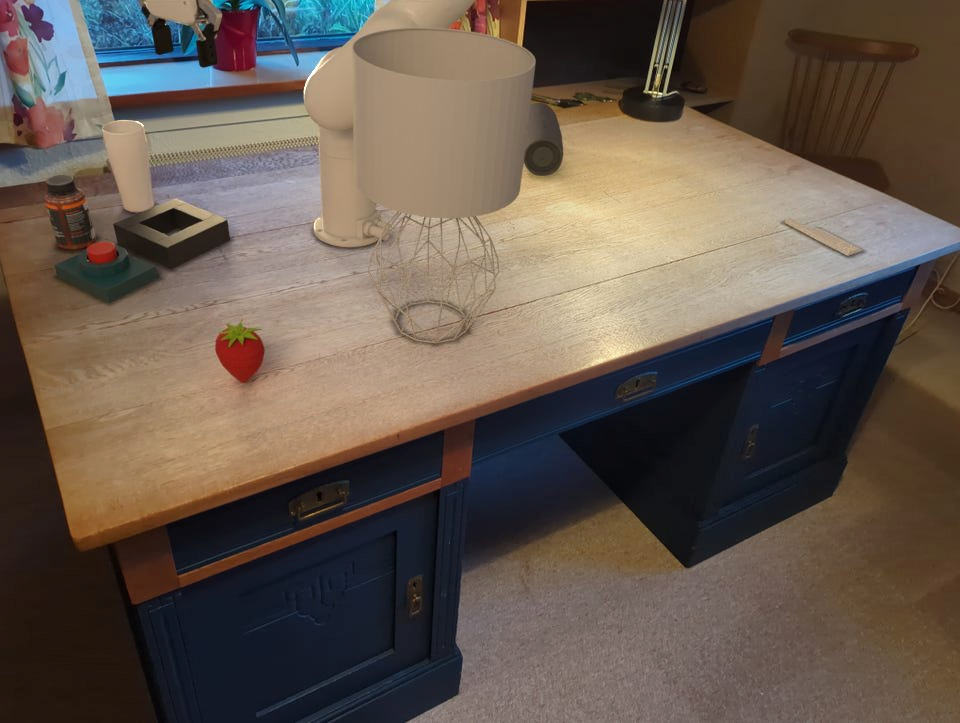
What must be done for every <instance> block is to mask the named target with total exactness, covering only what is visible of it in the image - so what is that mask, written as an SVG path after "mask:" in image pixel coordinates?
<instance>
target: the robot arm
mask: <svg viewBox="0 0 960 723" xmlns="http://www.w3.org/2000/svg"><path fill="white" fill-rule="evenodd" d="M137 2H138V4H139V7H140V8H141V9H140V10H141V13H142V14H143V16H144V17H145V18H146V24H147V26H148V27H149V28H150V30H151V36H152V42H153V47H154V52H155V54H156V55H158V56H162V55H165V54H169V53H173V52H174V51H175V48H174V43H173V36H172V31H171V26H170V24H167V22H173V23H177V24H180V25H185V26H190V28H191V29H192V31H193V33H194V34H195V35H196V37H197V39H196V40H195V46H196V51H197V59H198V66H199V67H200V68H203V69H204V68H208V67H212V66H216V65H217V64H218V61H219V60H218V55H217V47H216V39H217V38H218V34H219V31H220V30H221V23H222V18H223V12H222V11H221V10H220V9H219V8H218V7H217V6H216V5H214V4H213V0H137ZM475 2H476V0H388V1H387V2H386V3H385V4H384V5H382V6H381V7H379V8H378V9H376V10H375V11H374V12H372V13H371V14H370V15H369V17H368V18H367V20H365V22H364V24H363V26H362V27H361V28H360V29H359V31H357V32H356V33H355V34H354V35H353V36H352V37H351V38H350V39H349V40H348V41H347V42H345V44H344V45H342V46H338V47H335V48H334V49H332V50H330V51H328V52H327V53H325V55H323V56H322V57H321V59H320V61H319V62H318V63H317V65H316V66H315V67H314V69H313V71H312V72H311V74H310V75H309V77H308V78H307V80H306V82H305V86H304V89H303V103H304V107H305V111H306V113H307V115H308V116H309V117H310V119H311V120H312V121H313V122H314V123H315V124H316V125H317V138H318V140H317V141H318V164H319V182H320V183H319V184H320V185H319V186H320V202H321V203H320V204H321V216H320V217H318V218H317V219H315V221H314V223H313V233H314V235H315V236H316V238H317V239H318V240H320V241H321V242H323V243H325V244H328V245H331V246H335V247H339V248H360V247H366V246H369V245H372V244H374V243H377V242H378V240H379V238H380V236H381V234H382V232H383V230H384V228H385V226H386V224H387V223H388V222H386V221H383V220H382V211H381V210H379V209H377V203H375V202H373V201H371V200H370V199H368V198H367V197H366V196H364V195H363V194H362V193H361V192H360V191H359V189H358V188H357V186H356V184H355V180H354V133H353V82H352V45H353V43H354V42H355V41H356V40H357V39H358V38H360V37H362V36H364V35H367V34H370V33H373V32H378V31H383V30H389V29H398V28H445V29H450V27H451V26H452V25H454V24H455V23H456V22H457V21H458V20H459V19H460V18H461V17H462V16H463V15H464V14H465V13H466V12H467V11H468V10H469V9H470V8H471V6H473V5H474V3H475ZM201 25H202V26H203V28H202V27H201ZM390 224H391V223H389V224H388V225H387V227H386V229H387V228H388V227H389V226H390ZM392 227H393V225H392V226H391V227H390V228H389V229H388V231H389V230H390V229H391V228H392ZM386 229H385V231H386ZM385 231H384V232H385ZM388 231H387V232H388ZM387 232H386V233H387ZM386 233H385V234H386ZM390 233H391V231H390V232H389V233H388V234H387V235H386V236H385V237H384V238H383V239H382V240H383V241H387V240H388V239H389V238H390ZM385 234H384V235H385ZM384 235H383V236H384ZM382 240H381V241H382Z"/></svg>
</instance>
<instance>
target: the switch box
mask: <svg viewBox="0 0 960 723" xmlns="http://www.w3.org/2000/svg"><path fill="white" fill-rule="evenodd" d="M114 245H115V244H114ZM115 248H116V252H117V258H116V259H115V260H112V261H110V262H106V263H92V262H90V261H89V258H88V254H87V248H86V249H84V250H82V251H81V252H80V253H79V254H76V255H73V256H72V257H69V258H67V259H65V260H62V261H60V262H58V263H56V264H53V266H54V269H55V272H56V277H57V278H59V279H61V280H63V281H65V282H67V283H69V284H71V285H73V286H75V287H77V288H79V289H80V290H82V291H85V292H87V293H89V294H91V295H93V296H95V297H97V298H98V299H101V300H103V301H105V302H106V303H108V304H111V303H112V302H114V301H116V300H118V299H119V298H122V297H124V296H126V295H128V294H130V293H132V292H134V291H136V290H138V289H140V288H142V287H144V286H146V285H148V284H150V283H152V282H154V281H156V280H158V279H159V276H158V272H157V267H156V266H155V265H152V264H151V263H148V262H146V261H144V260H142V259H140V258H137V257H136V256H134V255H131V254H130V253H128V252H127V249H126V248H124V247H121V246H119V245H118V244H116V245H115Z"/></svg>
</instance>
